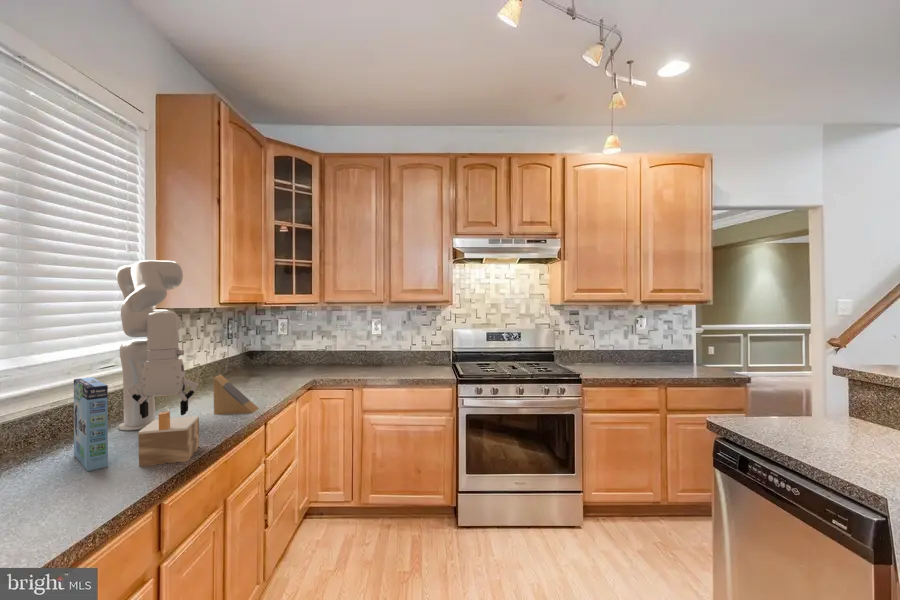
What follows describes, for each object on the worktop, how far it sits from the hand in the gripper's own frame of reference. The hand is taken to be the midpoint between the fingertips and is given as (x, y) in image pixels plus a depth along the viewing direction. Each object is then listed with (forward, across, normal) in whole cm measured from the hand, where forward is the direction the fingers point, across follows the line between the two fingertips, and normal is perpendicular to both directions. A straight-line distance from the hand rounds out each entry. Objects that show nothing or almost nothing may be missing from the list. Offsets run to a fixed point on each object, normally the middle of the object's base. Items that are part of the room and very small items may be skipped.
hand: (164, 415), depth 132 cm
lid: (+4, 0, -6) cm, 7 cm away
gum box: (+13, +21, -8) cm, 26 cm away
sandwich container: (+13, -10, -59) cm, 61 cm away
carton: (+13, 0, -6) cm, 14 cm away
